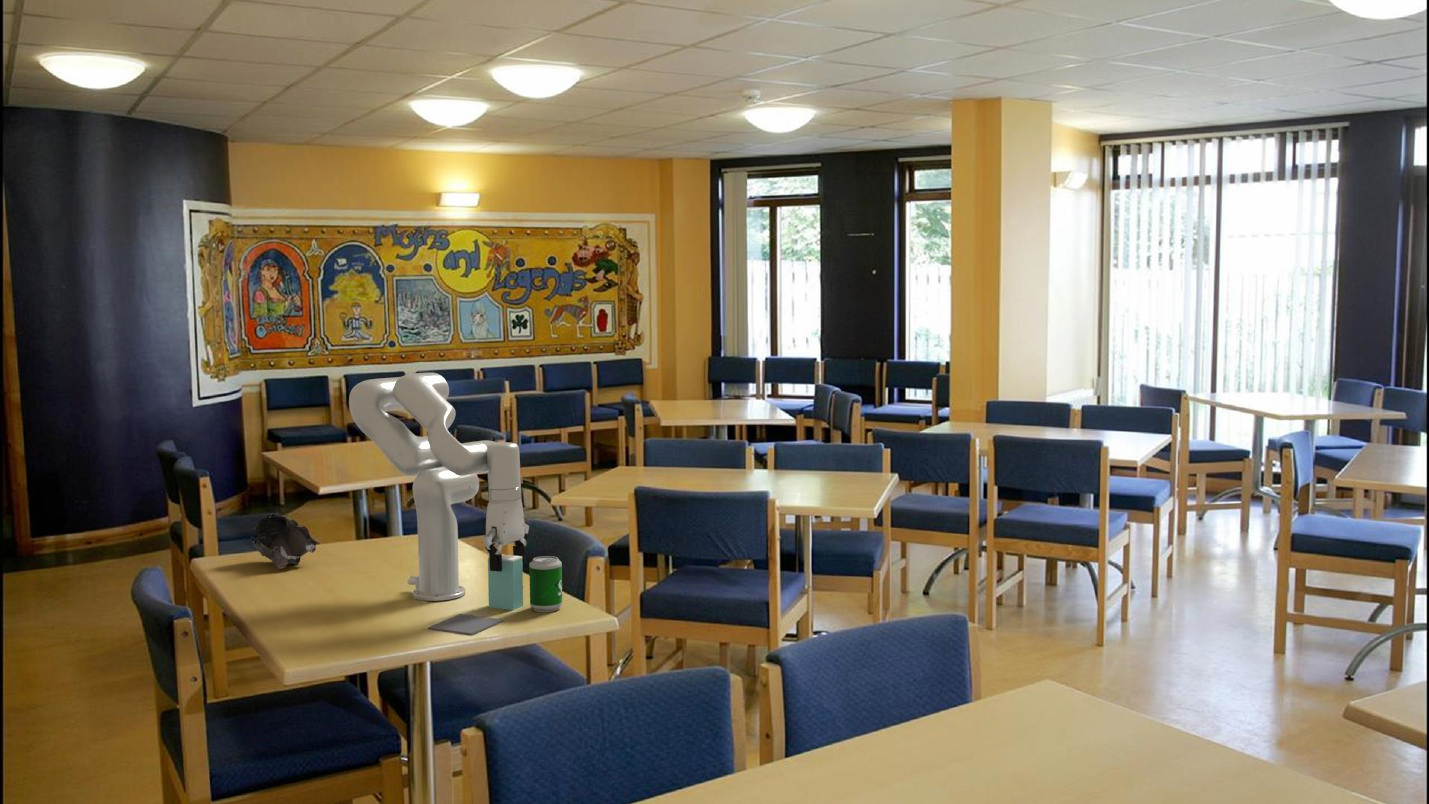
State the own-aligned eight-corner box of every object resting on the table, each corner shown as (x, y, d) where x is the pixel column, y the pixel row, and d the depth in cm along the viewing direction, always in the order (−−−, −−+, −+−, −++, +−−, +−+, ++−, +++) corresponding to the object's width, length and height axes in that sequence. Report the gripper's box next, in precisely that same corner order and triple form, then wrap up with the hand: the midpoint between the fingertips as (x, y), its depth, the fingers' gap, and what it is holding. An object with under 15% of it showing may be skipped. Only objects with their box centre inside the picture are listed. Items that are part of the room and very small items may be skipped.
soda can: (555, 614, 264) (555, 563, 263) (525, 612, 266) (524, 561, 265) (566, 605, 272) (566, 556, 271) (536, 603, 273) (536, 554, 272)
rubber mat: (427, 628, 252) (427, 627, 252) (460, 615, 263) (460, 613, 263) (472, 635, 247) (472, 633, 247) (504, 621, 258) (504, 619, 258)
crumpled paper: (325, 562, 314) (285, 556, 326) (318, 510, 312) (277, 506, 324) (279, 576, 303) (239, 569, 315) (271, 523, 301) (231, 518, 313)
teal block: (488, 606, 271) (487, 557, 270) (498, 602, 274) (497, 553, 273) (513, 610, 268) (512, 559, 267) (523, 606, 271) (522, 556, 270)
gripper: (512, 489, 278) (515, 558, 279) (469, 500, 262) (473, 573, 263) (538, 490, 275) (541, 560, 276) (497, 501, 259) (500, 575, 260)
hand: (508, 566), depth 270 cm, fingers open, 9 cm apart
